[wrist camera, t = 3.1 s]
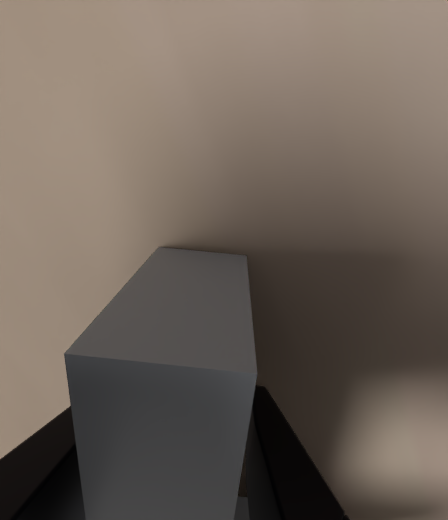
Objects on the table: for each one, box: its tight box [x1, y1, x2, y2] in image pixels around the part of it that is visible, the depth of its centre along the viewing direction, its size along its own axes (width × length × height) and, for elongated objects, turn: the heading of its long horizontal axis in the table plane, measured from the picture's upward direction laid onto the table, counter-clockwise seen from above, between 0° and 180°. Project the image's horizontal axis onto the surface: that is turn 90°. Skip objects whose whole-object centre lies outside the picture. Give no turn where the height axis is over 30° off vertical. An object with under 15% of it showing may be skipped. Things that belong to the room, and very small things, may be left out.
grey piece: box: [64, 247, 257, 520], centre depth 8 cm, size 12×12×4 cm
